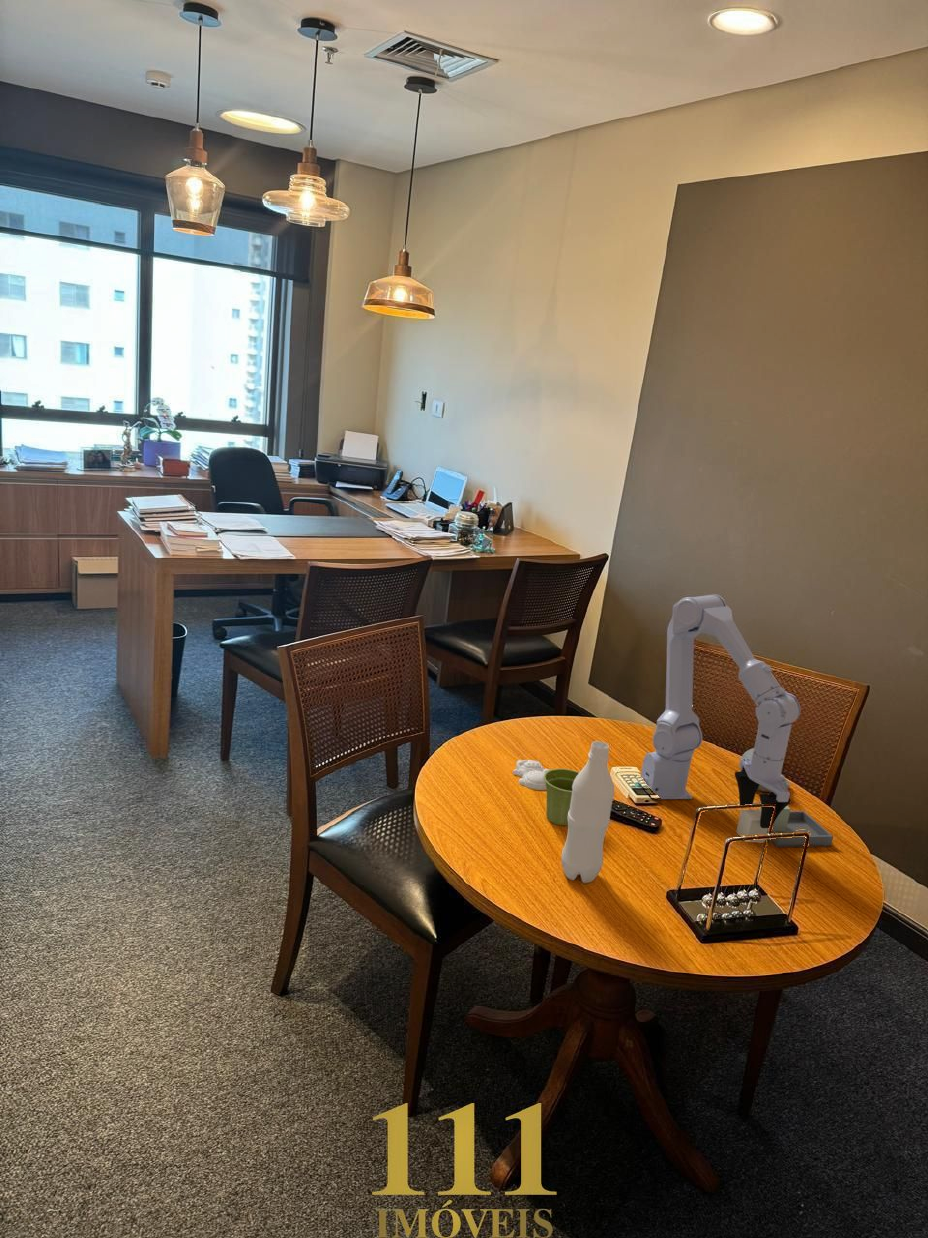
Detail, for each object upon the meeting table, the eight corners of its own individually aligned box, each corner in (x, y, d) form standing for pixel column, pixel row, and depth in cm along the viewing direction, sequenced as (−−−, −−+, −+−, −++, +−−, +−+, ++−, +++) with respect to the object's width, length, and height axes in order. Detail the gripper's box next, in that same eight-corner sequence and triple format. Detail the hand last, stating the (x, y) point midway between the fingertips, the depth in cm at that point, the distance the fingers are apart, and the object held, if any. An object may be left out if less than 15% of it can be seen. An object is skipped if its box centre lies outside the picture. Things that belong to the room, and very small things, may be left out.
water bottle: (590, 892, 141) (612, 758, 134) (552, 876, 144) (572, 745, 137) (606, 873, 147) (628, 744, 140) (569, 858, 150) (589, 732, 143)
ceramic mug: (748, 792, 184) (755, 761, 182) (735, 775, 192) (742, 745, 190) (794, 797, 185) (802, 766, 182) (780, 780, 192) (787, 749, 190)
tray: (777, 847, 162) (779, 837, 161) (750, 821, 171) (752, 811, 171) (830, 846, 164) (833, 836, 164) (801, 820, 174) (803, 810, 173)
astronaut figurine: (547, 767, 187) (549, 755, 186) (557, 792, 175) (559, 779, 175) (509, 764, 186) (511, 752, 185) (516, 790, 175) (518, 777, 174)
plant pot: (594, 821, 164) (601, 782, 162) (566, 836, 158) (573, 796, 155) (557, 802, 170) (562, 764, 168) (528, 816, 164) (534, 777, 161)
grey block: (746, 843, 162) (751, 820, 161) (736, 832, 166) (741, 810, 165) (764, 842, 163) (769, 820, 162) (754, 831, 167) (759, 809, 166)
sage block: (767, 830, 167) (772, 808, 165) (757, 820, 171) (762, 798, 169) (785, 831, 167) (790, 809, 166) (775, 820, 171) (780, 799, 170)
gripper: (809, 771, 154) (794, 836, 158) (766, 738, 167) (753, 799, 171) (775, 771, 152) (761, 837, 156) (735, 738, 166) (723, 799, 170)
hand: (755, 817), depth 163 cm, fingers open, 7 cm apart
